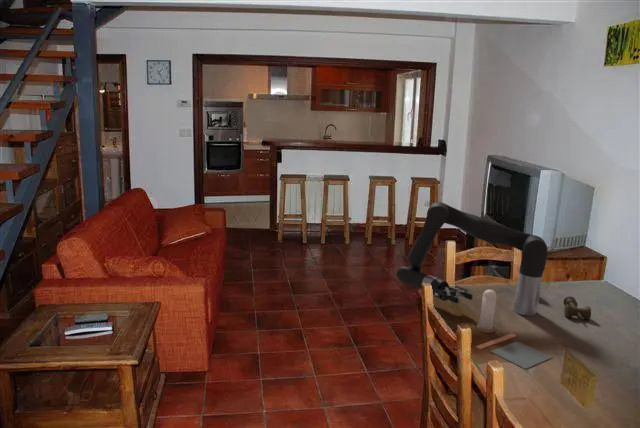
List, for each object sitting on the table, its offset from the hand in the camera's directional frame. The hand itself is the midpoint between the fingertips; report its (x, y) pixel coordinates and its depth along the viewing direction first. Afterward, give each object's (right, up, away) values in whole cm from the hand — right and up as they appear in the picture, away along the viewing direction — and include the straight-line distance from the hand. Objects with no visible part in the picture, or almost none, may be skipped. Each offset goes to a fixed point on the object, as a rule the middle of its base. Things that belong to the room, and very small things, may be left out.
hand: (465, 299), depth 212 cm
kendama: (+51, -9, +14) cm, 54 cm away
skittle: (+6, -11, -7) cm, 14 cm away
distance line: (+7, -13, -17) cm, 22 cm away
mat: (+13, -16, -26) cm, 33 cm away
